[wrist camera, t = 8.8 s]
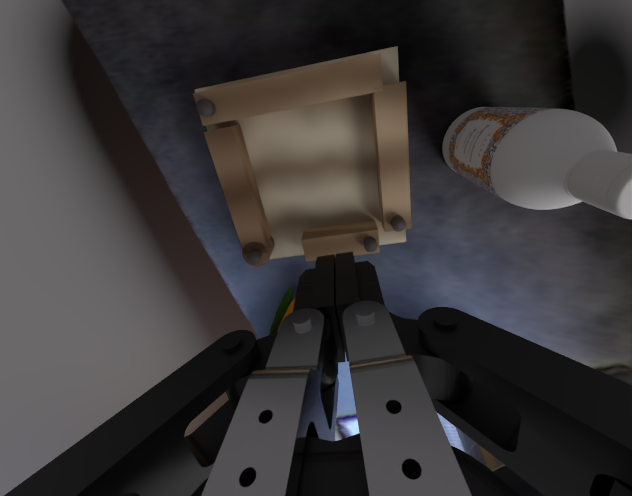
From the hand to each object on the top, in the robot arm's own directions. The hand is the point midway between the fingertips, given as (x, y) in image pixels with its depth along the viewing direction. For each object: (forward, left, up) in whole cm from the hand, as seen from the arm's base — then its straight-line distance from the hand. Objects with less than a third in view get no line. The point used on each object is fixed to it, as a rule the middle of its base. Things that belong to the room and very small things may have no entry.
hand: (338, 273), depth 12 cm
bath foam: (0, -15, -24) cm, 29 cm away
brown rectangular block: (-2, +10, -22) cm, 24 cm away
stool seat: (0, +3, -24) cm, 24 cm away
